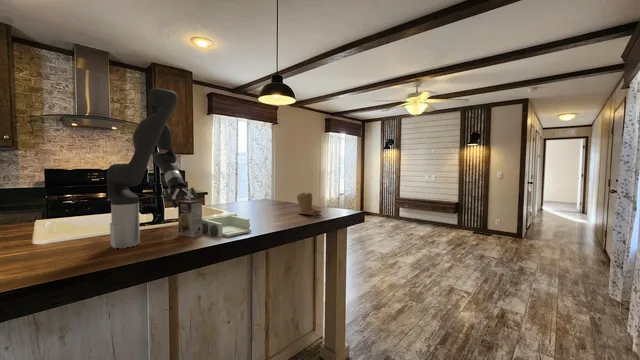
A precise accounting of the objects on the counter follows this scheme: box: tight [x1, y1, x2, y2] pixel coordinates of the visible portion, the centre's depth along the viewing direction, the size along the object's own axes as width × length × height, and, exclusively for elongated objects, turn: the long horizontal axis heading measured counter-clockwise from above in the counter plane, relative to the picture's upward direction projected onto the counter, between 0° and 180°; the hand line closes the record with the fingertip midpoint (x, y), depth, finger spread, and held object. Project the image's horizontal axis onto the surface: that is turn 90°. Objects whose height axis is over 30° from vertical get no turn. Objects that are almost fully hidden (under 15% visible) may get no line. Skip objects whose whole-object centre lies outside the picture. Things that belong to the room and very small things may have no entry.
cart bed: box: [202, 214, 252, 238], centre depth 137 cm, size 19×21×6 cm
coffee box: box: [177, 199, 203, 238], centre depth 131 cm, size 9×6×16 cm
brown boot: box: [296, 191, 322, 216], centre depth 187 cm, size 15×12×15 cm
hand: (185, 206), depth 133 cm, fingers open, 8 cm apart
